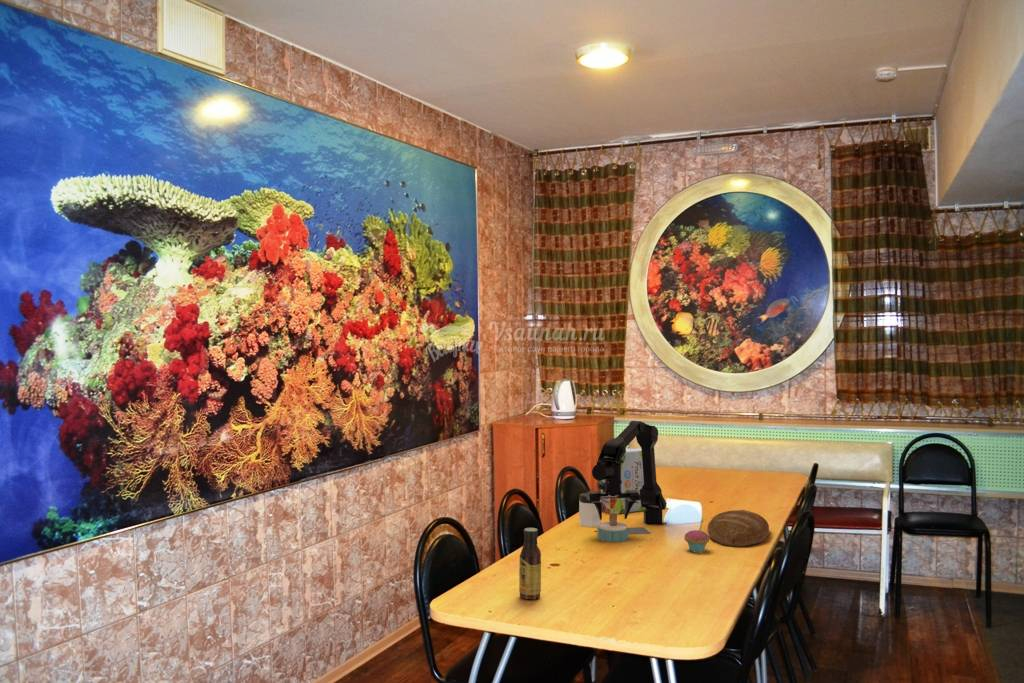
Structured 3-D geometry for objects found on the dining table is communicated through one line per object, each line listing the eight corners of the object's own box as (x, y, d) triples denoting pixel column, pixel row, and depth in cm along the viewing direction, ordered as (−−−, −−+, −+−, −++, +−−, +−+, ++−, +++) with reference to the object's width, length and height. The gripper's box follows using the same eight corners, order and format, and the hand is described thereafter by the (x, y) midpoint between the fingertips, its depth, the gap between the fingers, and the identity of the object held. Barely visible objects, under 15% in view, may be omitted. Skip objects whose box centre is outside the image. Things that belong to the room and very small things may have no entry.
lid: (622, 524, 317) (623, 510, 317) (630, 531, 307) (630, 516, 307) (596, 525, 316) (596, 511, 316) (602, 532, 306) (602, 517, 306)
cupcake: (710, 549, 299) (710, 514, 298) (707, 555, 291) (708, 520, 290) (685, 546, 302) (686, 513, 301) (682, 552, 294) (682, 518, 293)
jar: (587, 528, 327) (587, 497, 327) (574, 524, 334) (574, 494, 334) (605, 525, 332) (605, 495, 332) (592, 521, 339) (592, 491, 339)
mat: (643, 528, 329) (643, 527, 329) (651, 534, 319) (651, 533, 319) (618, 528, 327) (618, 527, 327) (625, 535, 317) (625, 534, 317)
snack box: (642, 506, 368) (642, 447, 367) (653, 510, 360) (654, 449, 359) (598, 511, 358) (599, 450, 358) (610, 515, 350) (610, 453, 350)
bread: (772, 527, 332) (772, 505, 332) (765, 551, 297) (765, 527, 297) (714, 522, 340) (715, 501, 340) (701, 545, 305) (701, 521, 305)
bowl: (623, 534, 318) (623, 524, 318) (631, 542, 307) (631, 531, 307) (594, 535, 317) (594, 525, 316) (601, 543, 305) (601, 532, 305)
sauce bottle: (518, 594, 248) (518, 526, 248) (539, 593, 249) (539, 525, 248) (520, 601, 242) (520, 531, 241) (542, 601, 242) (542, 531, 242)
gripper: (632, 472, 320) (632, 513, 321) (583, 473, 318) (583, 515, 318) (640, 477, 309) (640, 520, 310) (590, 478, 307) (589, 521, 307)
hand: (613, 519), depth 312 cm, fingers open, 9 cm apart
